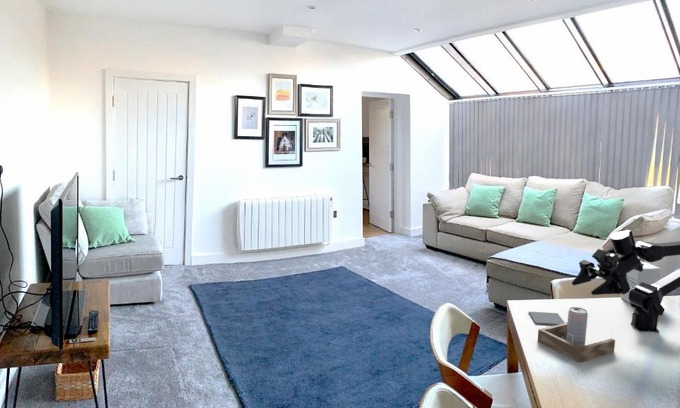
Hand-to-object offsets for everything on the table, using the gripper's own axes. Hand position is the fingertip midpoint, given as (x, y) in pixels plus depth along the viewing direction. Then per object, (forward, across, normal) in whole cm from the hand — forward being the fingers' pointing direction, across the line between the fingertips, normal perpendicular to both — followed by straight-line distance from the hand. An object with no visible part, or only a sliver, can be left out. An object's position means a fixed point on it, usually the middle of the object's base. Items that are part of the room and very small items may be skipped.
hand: (581, 288), depth 158 cm
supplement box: (-31, -21, +34) cm, 51 cm away
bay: (+13, +8, +11) cm, 19 cm away
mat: (+9, -13, +13) cm, 21 cm away
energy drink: (+13, +8, +11) cm, 19 cm away
